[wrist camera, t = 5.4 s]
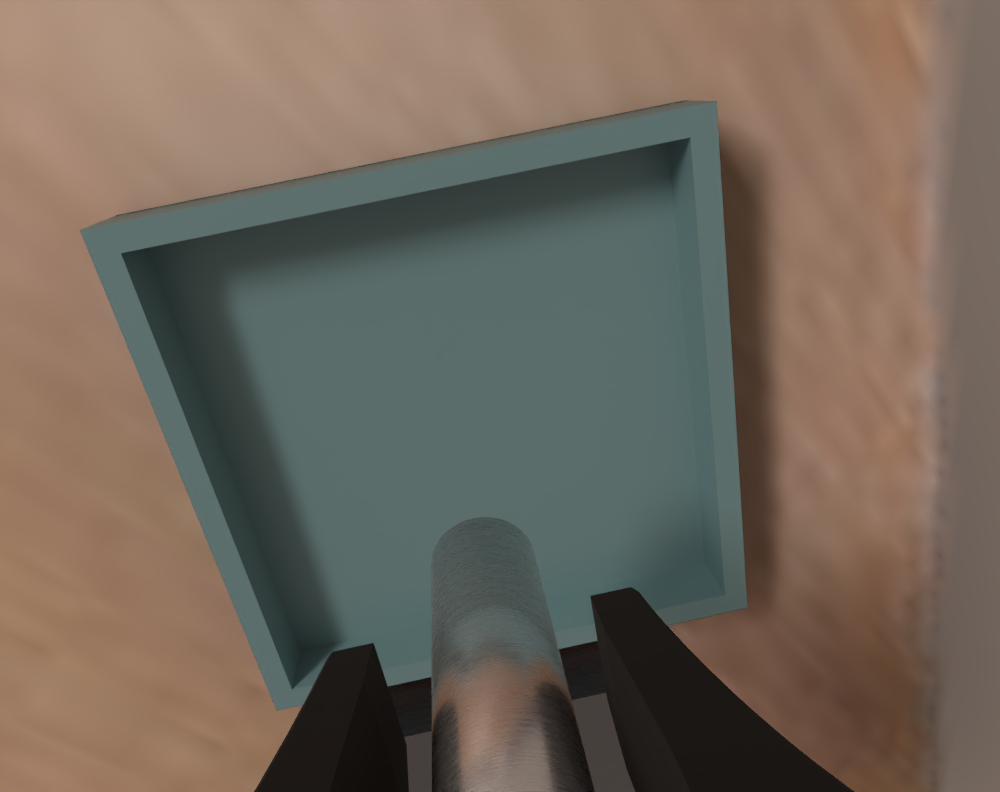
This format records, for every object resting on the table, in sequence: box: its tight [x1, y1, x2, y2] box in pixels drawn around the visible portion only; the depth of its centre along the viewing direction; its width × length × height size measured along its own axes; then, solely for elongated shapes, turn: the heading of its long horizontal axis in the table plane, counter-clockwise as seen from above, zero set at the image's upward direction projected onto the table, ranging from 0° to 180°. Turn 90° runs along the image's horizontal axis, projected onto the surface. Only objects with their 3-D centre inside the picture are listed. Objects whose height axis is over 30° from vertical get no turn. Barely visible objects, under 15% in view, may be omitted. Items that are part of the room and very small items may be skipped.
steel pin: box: [431, 517, 595, 792], centre depth 10 cm, size 3×3×9 cm
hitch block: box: [388, 641, 635, 792], centre depth 23 cm, size 8×8×2 cm
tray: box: [80, 101, 748, 711], centre depth 18 cm, size 13×13×2 cm
